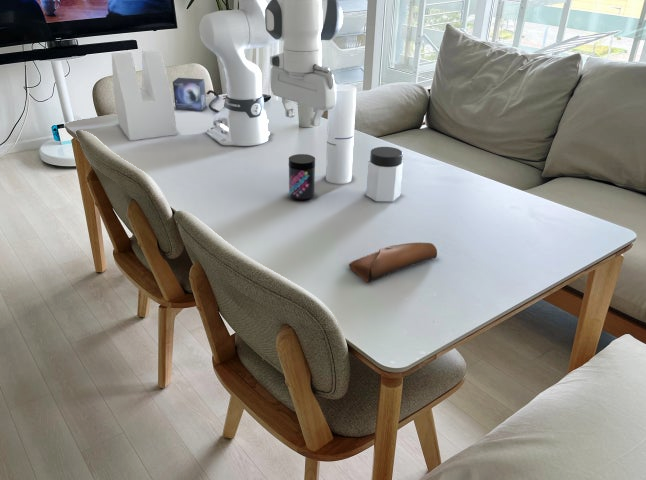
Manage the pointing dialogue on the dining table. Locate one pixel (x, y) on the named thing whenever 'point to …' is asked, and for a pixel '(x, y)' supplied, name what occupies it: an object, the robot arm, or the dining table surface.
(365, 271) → the sunglasses case
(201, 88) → the small box
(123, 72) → the white notched block
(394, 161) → the jar
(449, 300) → the dining table surface
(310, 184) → the supplement container
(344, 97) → the cylindrical container
